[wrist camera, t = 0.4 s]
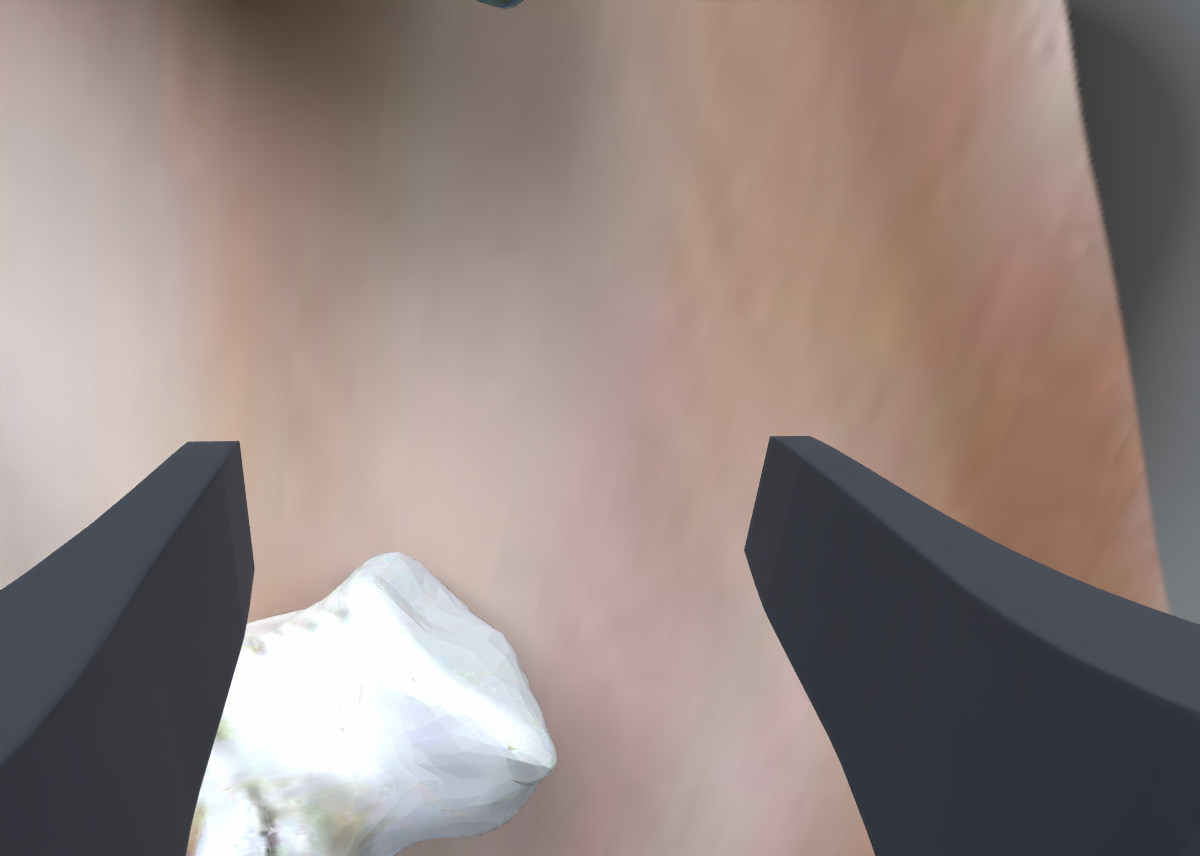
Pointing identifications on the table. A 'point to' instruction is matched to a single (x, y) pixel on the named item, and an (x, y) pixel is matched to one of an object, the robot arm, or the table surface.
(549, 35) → the table surface
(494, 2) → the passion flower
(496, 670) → the ceramic sculpture
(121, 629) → the robot arm
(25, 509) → the table surface
